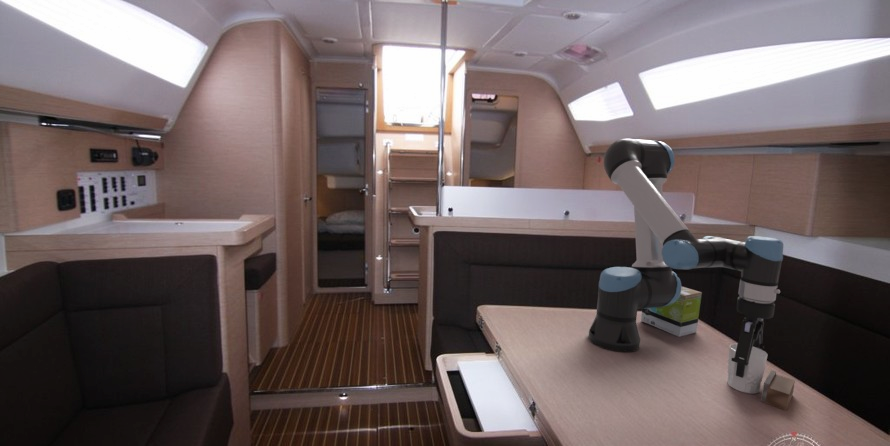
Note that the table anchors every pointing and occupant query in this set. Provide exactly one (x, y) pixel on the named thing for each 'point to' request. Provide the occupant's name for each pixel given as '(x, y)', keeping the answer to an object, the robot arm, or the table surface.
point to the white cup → (754, 371)
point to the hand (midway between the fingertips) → (744, 378)
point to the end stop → (777, 390)
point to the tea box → (676, 314)
